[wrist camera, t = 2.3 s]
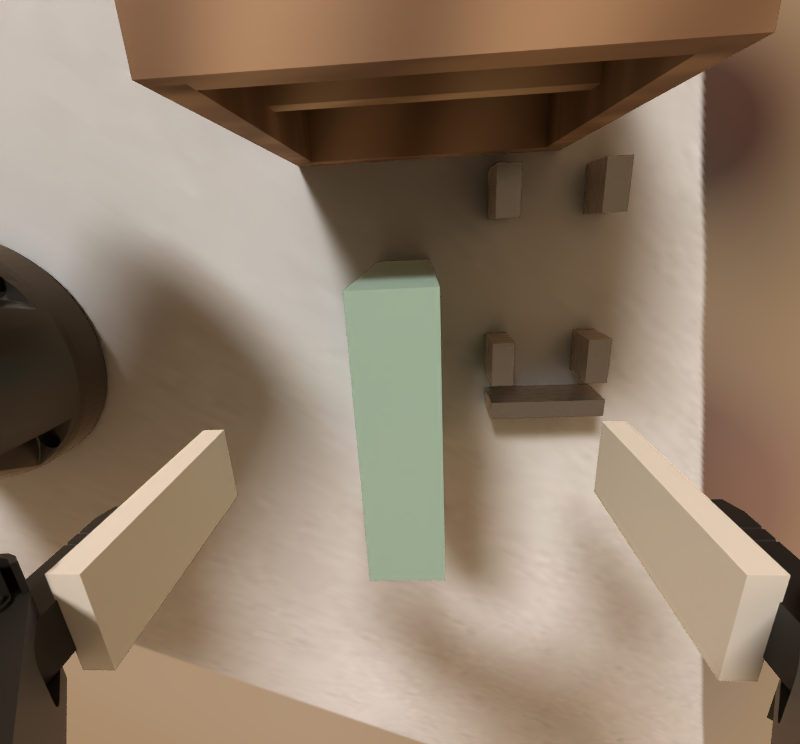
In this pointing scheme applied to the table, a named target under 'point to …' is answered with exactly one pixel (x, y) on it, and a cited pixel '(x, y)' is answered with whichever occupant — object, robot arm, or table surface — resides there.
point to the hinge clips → (588, 345)
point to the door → (399, 417)
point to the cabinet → (426, 68)
